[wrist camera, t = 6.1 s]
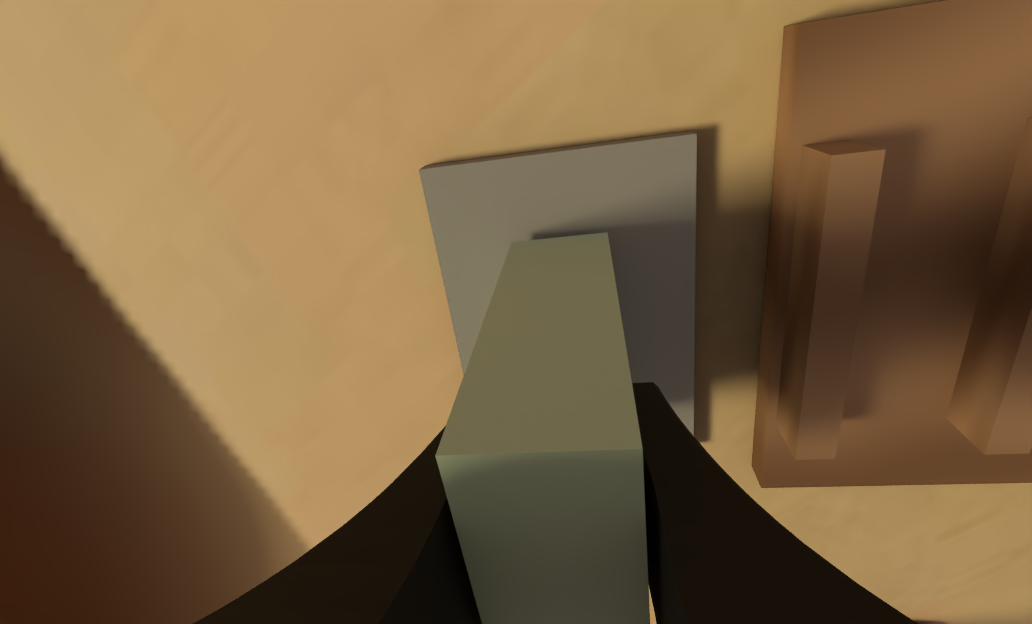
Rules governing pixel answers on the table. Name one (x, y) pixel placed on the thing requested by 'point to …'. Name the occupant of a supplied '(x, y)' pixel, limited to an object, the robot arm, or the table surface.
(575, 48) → the table surface
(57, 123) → the table surface
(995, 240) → the rack
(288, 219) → the table surface
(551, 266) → the sage green box
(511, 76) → the table surface
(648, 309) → the mat
